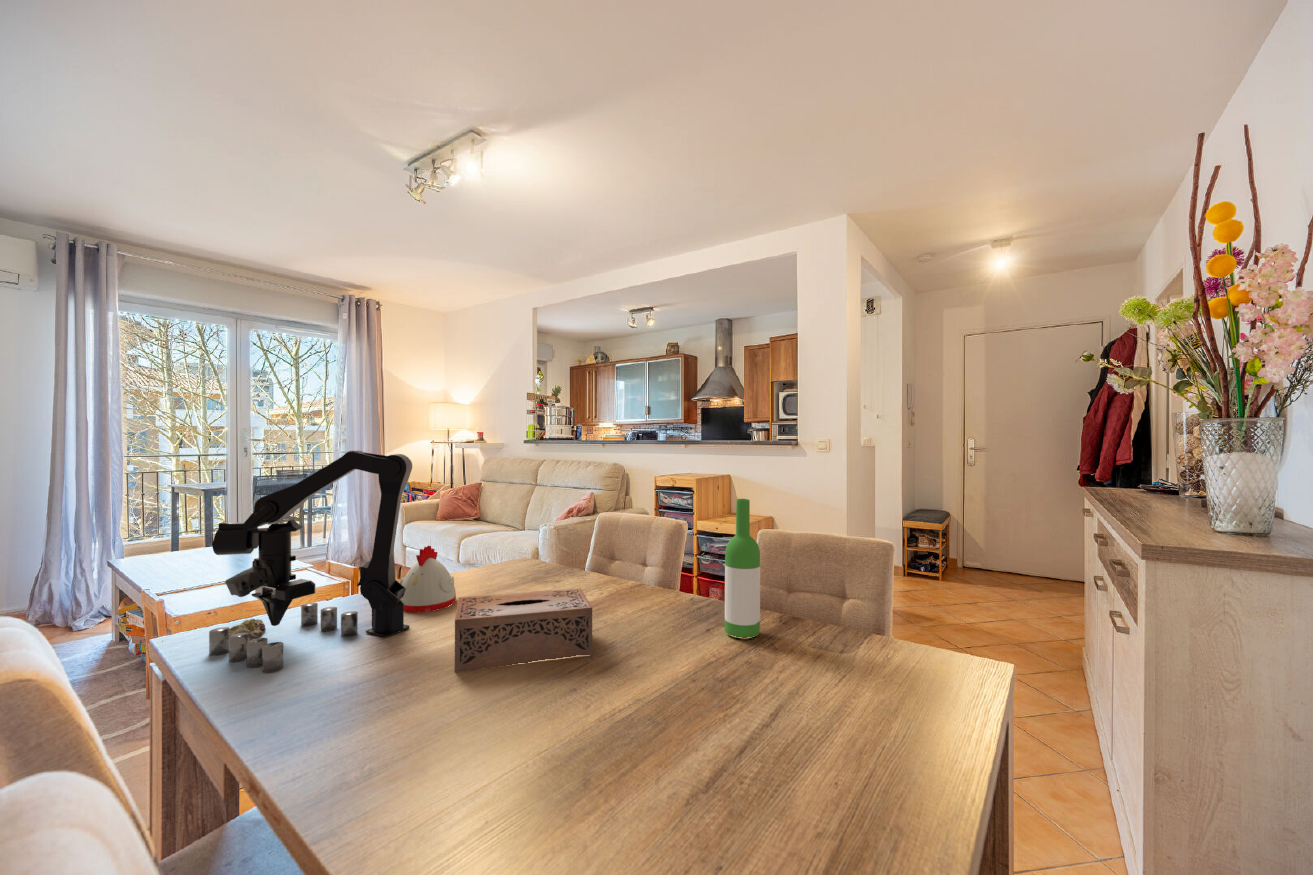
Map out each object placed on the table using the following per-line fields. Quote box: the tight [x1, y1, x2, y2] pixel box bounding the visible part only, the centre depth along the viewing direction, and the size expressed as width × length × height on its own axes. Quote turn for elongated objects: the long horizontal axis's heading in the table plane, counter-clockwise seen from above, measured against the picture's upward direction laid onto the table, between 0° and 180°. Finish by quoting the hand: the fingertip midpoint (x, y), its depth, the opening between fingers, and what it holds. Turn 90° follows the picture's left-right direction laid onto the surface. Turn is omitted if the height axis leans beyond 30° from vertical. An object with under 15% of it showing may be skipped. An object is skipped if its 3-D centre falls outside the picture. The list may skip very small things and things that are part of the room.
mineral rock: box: [230, 618, 267, 640], centre depth 117 cm, size 11×4×8 cm
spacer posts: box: [208, 602, 359, 674], centre depth 113 cm, size 21×21×4 cm
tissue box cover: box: [454, 587, 593, 673], centre depth 111 cm, size 26×14×10 cm, turn 107°
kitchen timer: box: [399, 545, 457, 613], centre depth 141 cm, size 14×14×15 cm
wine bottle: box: [724, 498, 761, 638], centre depth 120 cm, size 8×8×30 cm
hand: (275, 625), depth 116 cm, fingers closed
